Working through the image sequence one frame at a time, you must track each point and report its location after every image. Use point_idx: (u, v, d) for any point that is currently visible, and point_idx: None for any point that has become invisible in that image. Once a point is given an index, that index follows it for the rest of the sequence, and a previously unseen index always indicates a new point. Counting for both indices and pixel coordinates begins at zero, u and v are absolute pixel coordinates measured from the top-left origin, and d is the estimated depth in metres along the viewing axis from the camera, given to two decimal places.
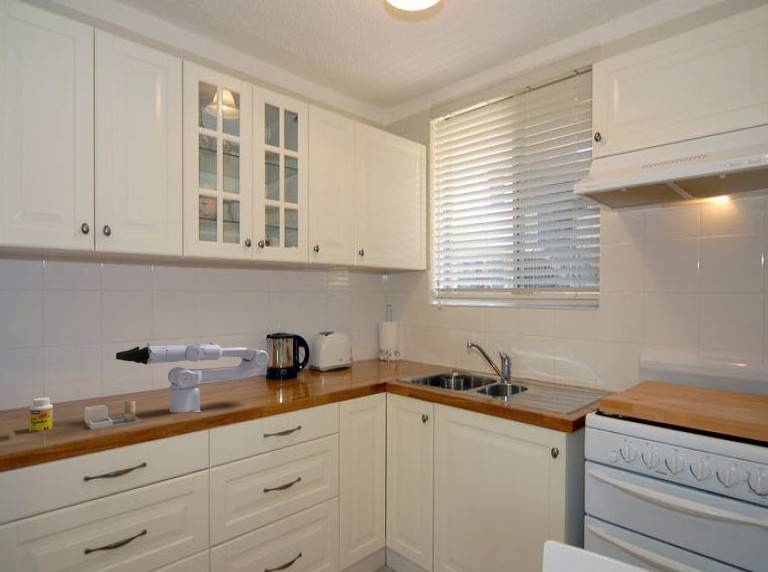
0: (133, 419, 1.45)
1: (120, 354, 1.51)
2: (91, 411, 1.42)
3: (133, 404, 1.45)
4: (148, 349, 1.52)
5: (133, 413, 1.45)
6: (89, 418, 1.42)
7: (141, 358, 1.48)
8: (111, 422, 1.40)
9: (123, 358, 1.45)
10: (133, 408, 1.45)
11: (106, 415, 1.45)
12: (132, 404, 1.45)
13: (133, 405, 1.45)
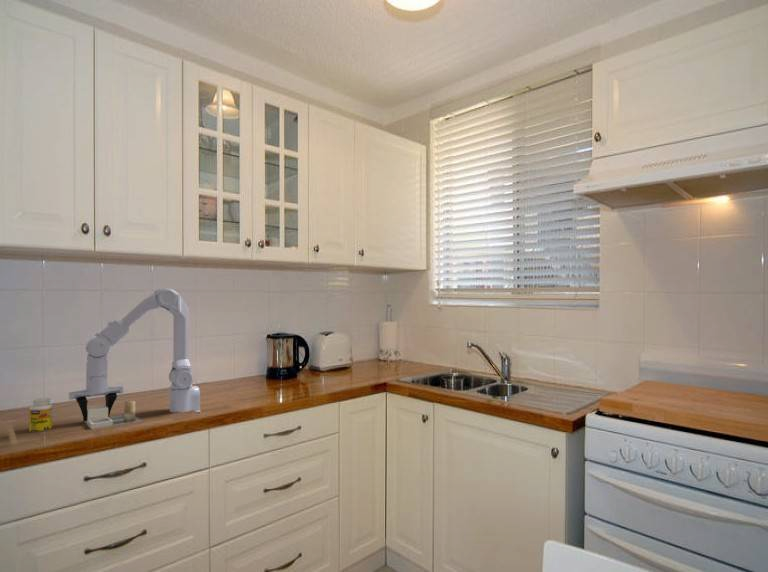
0: (133, 419, 1.45)
1: None
2: (91, 411, 1.42)
3: (133, 404, 1.45)
4: None
5: (133, 413, 1.45)
6: (89, 418, 1.42)
7: None
8: (111, 422, 1.40)
9: (84, 419, 1.42)
10: (133, 408, 1.45)
11: (106, 415, 1.45)
12: (132, 404, 1.45)
13: (133, 405, 1.45)
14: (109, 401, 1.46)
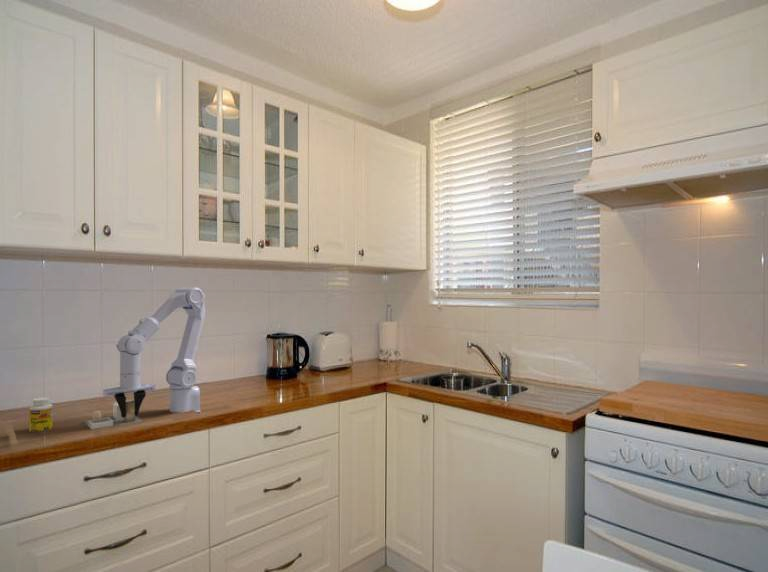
0: (133, 419, 1.45)
1: None
2: None
3: (133, 404, 1.45)
4: None
5: (133, 413, 1.45)
6: (118, 413, 1.47)
7: None
8: (111, 422, 1.40)
9: (122, 416, 1.44)
10: (133, 408, 1.45)
11: None
12: (132, 404, 1.45)
13: (133, 405, 1.45)
14: (138, 399, 1.45)
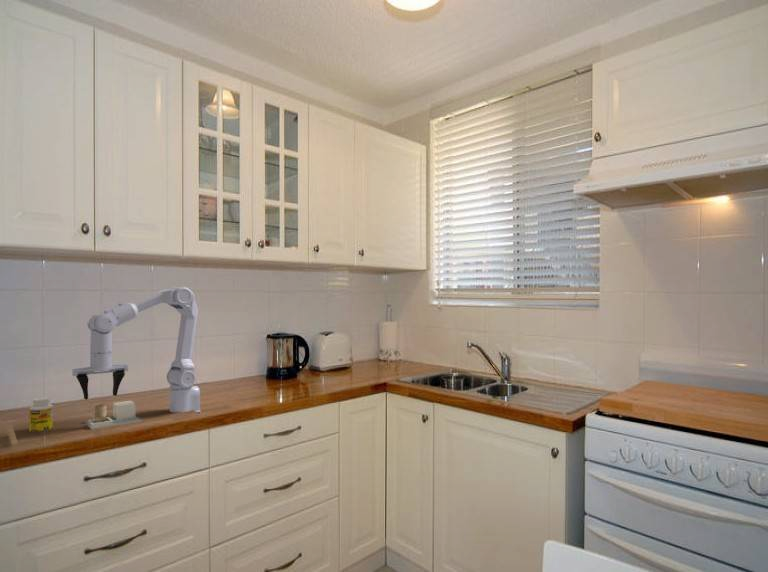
0: None
1: (113, 391, 1.44)
2: (120, 406, 1.48)
3: (104, 408, 1.40)
4: None
5: (104, 417, 1.40)
6: (118, 413, 1.47)
7: None
8: (111, 422, 1.40)
9: (84, 398, 1.38)
10: (104, 412, 1.40)
11: (133, 410, 1.50)
12: (103, 408, 1.40)
13: (104, 409, 1.40)
14: (117, 378, 1.42)
